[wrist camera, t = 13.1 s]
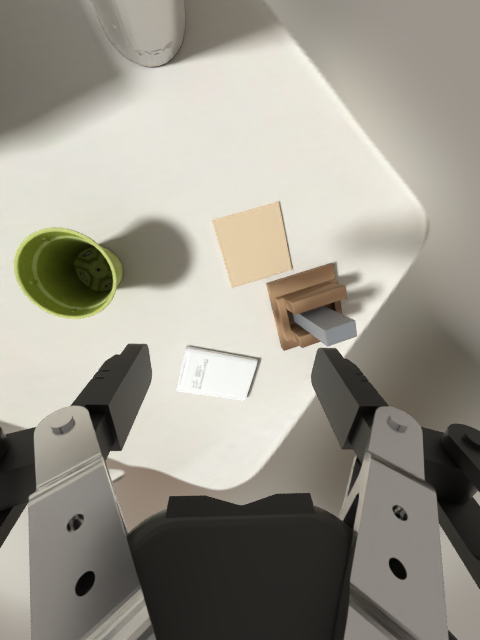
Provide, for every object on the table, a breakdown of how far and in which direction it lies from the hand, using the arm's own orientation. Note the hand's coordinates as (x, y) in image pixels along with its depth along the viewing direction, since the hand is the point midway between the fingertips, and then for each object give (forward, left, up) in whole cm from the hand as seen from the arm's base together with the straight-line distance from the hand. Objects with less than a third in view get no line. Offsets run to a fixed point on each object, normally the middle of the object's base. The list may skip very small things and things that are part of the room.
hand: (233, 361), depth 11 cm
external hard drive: (+15, -4, -27) cm, 31 cm away
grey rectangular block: (+9, +13, -25) cm, 29 cm away
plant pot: (-6, -14, -26) cm, 30 cm away
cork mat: (-3, +8, -26) cm, 27 cm away
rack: (+9, +14, -26) cm, 31 cm away
